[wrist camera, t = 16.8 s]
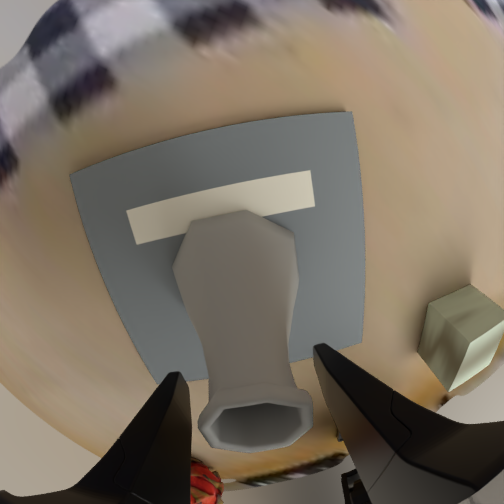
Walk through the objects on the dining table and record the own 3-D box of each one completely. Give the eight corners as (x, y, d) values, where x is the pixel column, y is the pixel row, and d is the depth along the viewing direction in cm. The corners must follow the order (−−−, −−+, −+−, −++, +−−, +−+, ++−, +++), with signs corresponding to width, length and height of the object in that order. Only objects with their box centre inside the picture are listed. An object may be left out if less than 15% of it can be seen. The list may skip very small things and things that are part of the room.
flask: (171, 317, 16) (143, 465, 7) (176, 201, 14) (95, 310, 4) (285, 326, 17) (331, 464, 8) (311, 217, 15) (428, 326, 5)
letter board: (358, 337, 19) (361, 342, 19) (158, 378, 19) (157, 384, 18) (347, 112, 13) (352, 111, 13) (74, 173, 13) (69, 174, 12)
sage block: (457, 331, 22) (489, 364, 16) (416, 351, 21) (448, 392, 16) (470, 283, 19) (510, 315, 14) (428, 302, 19) (470, 342, 14)
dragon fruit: (196, 472, 30) (174, 428, 27) (244, 496, 25) (231, 458, 22) (160, 505, 23) (125, 467, 20) (209, 536, 18) (181, 509, 15)
